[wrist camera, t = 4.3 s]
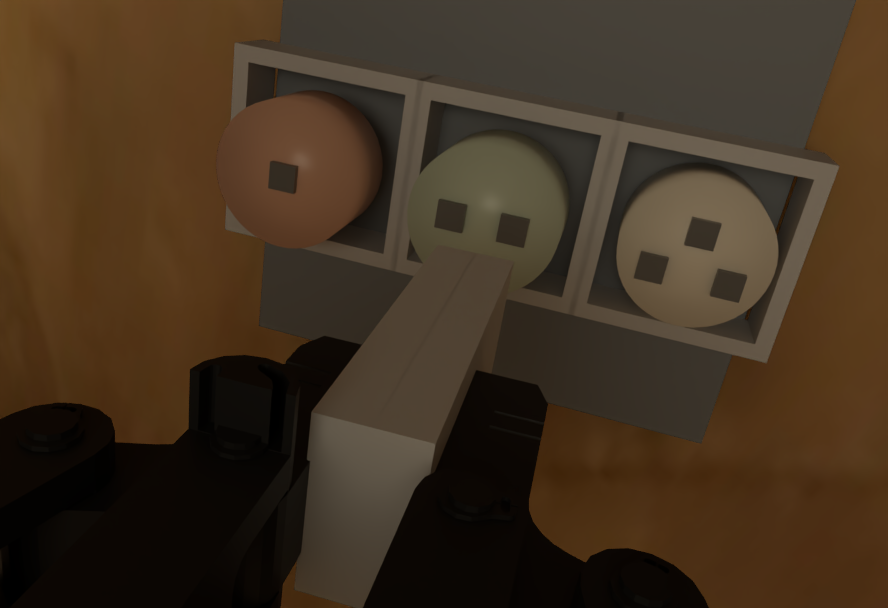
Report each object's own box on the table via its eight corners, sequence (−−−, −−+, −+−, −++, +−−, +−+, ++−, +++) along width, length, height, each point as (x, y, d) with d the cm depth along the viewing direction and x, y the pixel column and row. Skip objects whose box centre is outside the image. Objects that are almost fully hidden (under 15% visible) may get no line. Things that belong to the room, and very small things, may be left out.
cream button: (604, 280, 26) (600, 309, 23) (639, 149, 24) (638, 165, 22) (740, 312, 25) (750, 346, 23) (786, 179, 23) (802, 201, 21)
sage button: (419, 251, 25) (395, 278, 23) (441, 116, 24) (417, 129, 21) (552, 283, 25) (541, 314, 22) (584, 146, 23) (576, 163, 21)
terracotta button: (250, 210, 26) (209, 231, 24) (259, 77, 25) (216, 86, 22) (373, 240, 26) (344, 265, 23) (391, 105, 24) (361, 117, 21)
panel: (267, 304, 32) (219, 342, 29) (299, -99, 26) (243, -115, 23) (714, 420, 29) (722, 479, 26) (863, -4, 23) (902, -4, 20)
